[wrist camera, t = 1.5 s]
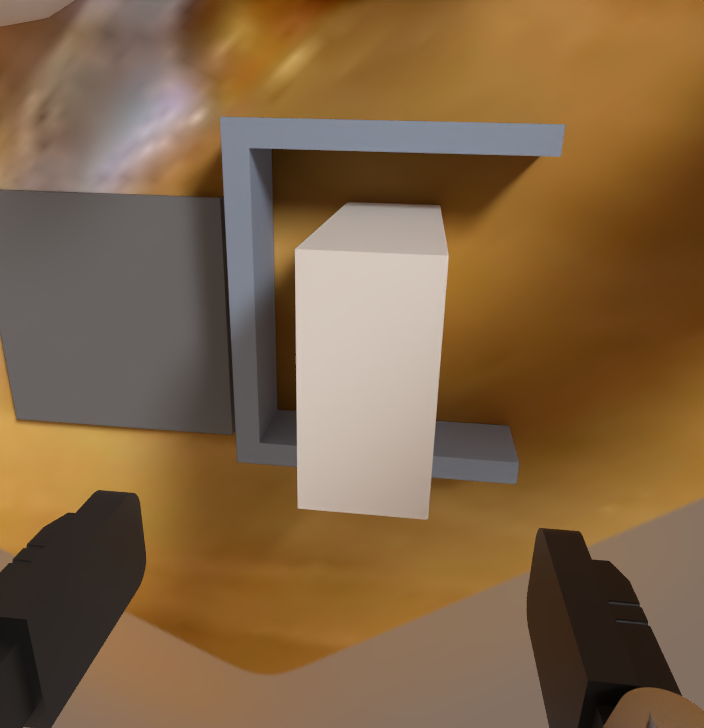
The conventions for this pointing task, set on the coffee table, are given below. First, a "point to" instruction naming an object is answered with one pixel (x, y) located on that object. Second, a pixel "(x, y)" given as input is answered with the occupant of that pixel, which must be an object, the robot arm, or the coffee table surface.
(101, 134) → the coffee table surface
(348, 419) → the packed carton
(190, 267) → the rubber pad
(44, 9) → the canister
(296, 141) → the frame
